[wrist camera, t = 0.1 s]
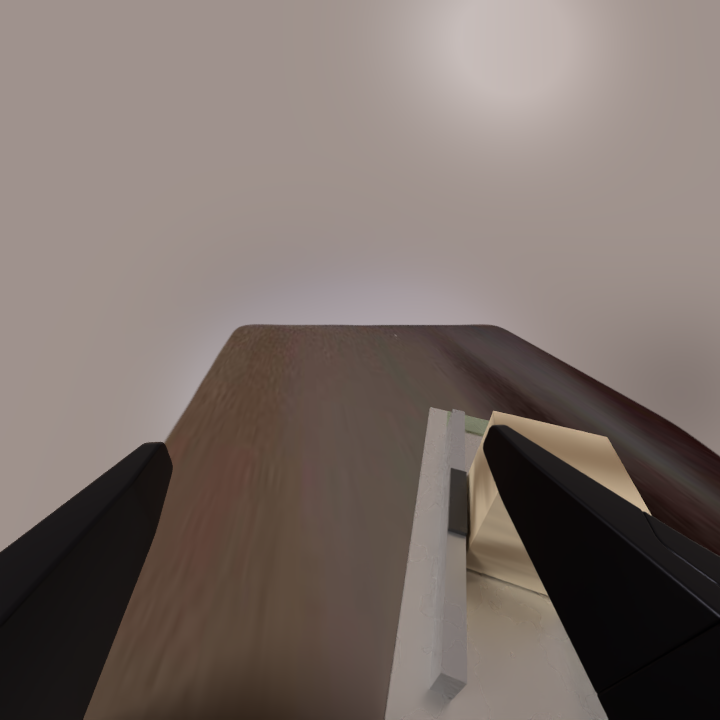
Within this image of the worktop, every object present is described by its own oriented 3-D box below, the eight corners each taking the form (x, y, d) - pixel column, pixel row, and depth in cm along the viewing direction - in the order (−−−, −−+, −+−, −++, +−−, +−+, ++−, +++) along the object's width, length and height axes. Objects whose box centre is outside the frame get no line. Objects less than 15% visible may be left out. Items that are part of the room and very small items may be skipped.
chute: (747, 948, 11) (842, 970, 9) (377, 764, 14) (387, 750, 12) (558, 442, 33) (574, 416, 31) (429, 411, 35) (435, 384, 33)
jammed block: (573, 604, 19) (656, 524, 14) (460, 565, 21) (503, 482, 16) (550, 517, 24) (607, 437, 19) (460, 491, 26) (493, 410, 21)
